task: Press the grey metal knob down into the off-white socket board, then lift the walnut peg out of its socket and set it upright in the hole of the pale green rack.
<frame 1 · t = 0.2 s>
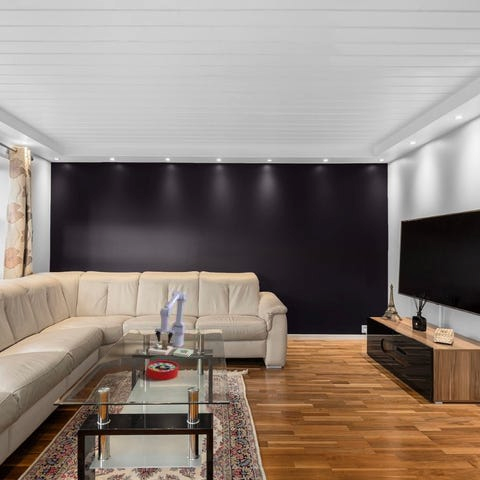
hand: (163, 342, 304), 10 cm above the table, tool pointing down, fingers open, 7 cm apart
peg: (164, 351, 313), resting in socket block
grey metal knob: (155, 345, 314), point 4 cm above the table, slide at 0.0 cm
socket block: (160, 350, 314), on the table
toy clock: (162, 375, 269), on the table
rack: (183, 354, 310), on the table
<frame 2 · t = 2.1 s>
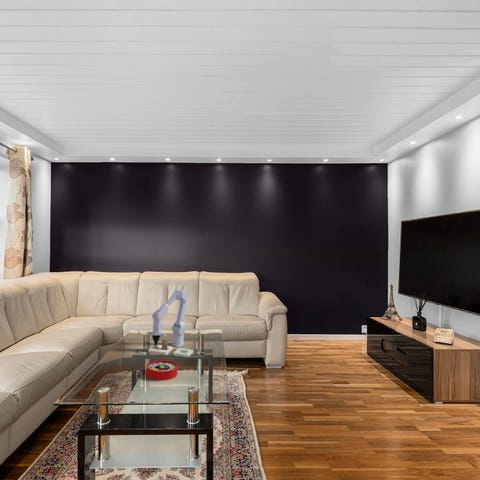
hand: (155, 344, 314), 4 cm above the table, tool pointing down, fingers closed, pressing on grey metal knob
grey metal knob: (155, 346, 314), point 3 cm above the table, slide at 1.1 cm, touching gripper
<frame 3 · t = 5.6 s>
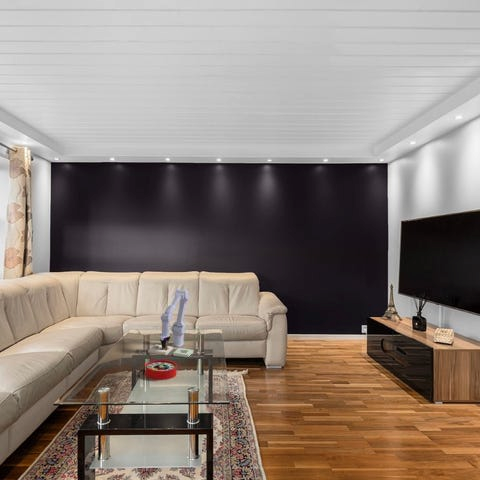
hand: (164, 346, 313), 3 cm above the table, tool pointing down, fingers closed on peg, 4 cm apart
peg: (164, 351, 313), resting in socket block, touching gripper
grey metal knob: (155, 348, 314), point 2 cm above the table, slide at 2.1 cm
when the fingers open (5 cm above the table, at t = 8.8 s): peg drops 1 cm, resting in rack.
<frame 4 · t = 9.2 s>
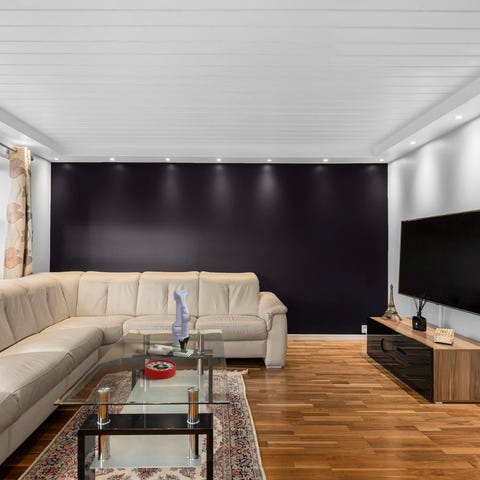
hand: (183, 347, 310), 5 cm above the table, tool pointing down, fingers open, 7 cm apart
peg: (183, 354, 310), resting in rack
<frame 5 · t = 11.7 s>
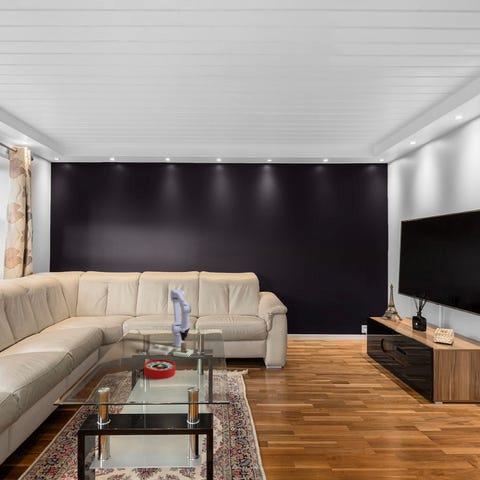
hand: (184, 339, 316), 9 cm above the table, tool pointing down, fingers open, 7 cm apart
at the end: grey metal knob slide at 2.1 cm; peg 0.1 cm off-centre on the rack, point 0.0 cm above the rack's base; peg tilted 0° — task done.
